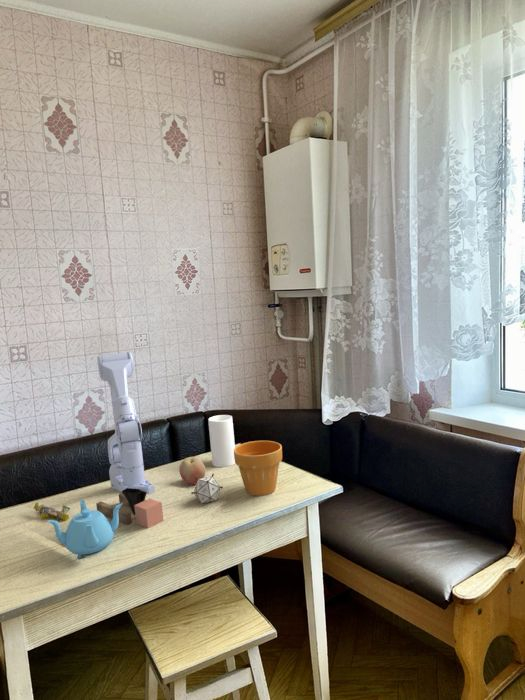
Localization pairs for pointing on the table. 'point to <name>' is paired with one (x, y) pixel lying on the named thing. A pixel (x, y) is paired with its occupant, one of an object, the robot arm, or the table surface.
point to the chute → (123, 514)
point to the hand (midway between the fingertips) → (138, 513)
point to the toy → (52, 512)
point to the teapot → (87, 531)
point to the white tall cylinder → (222, 440)
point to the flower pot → (258, 465)
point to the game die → (206, 489)
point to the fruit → (192, 470)
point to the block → (148, 512)
